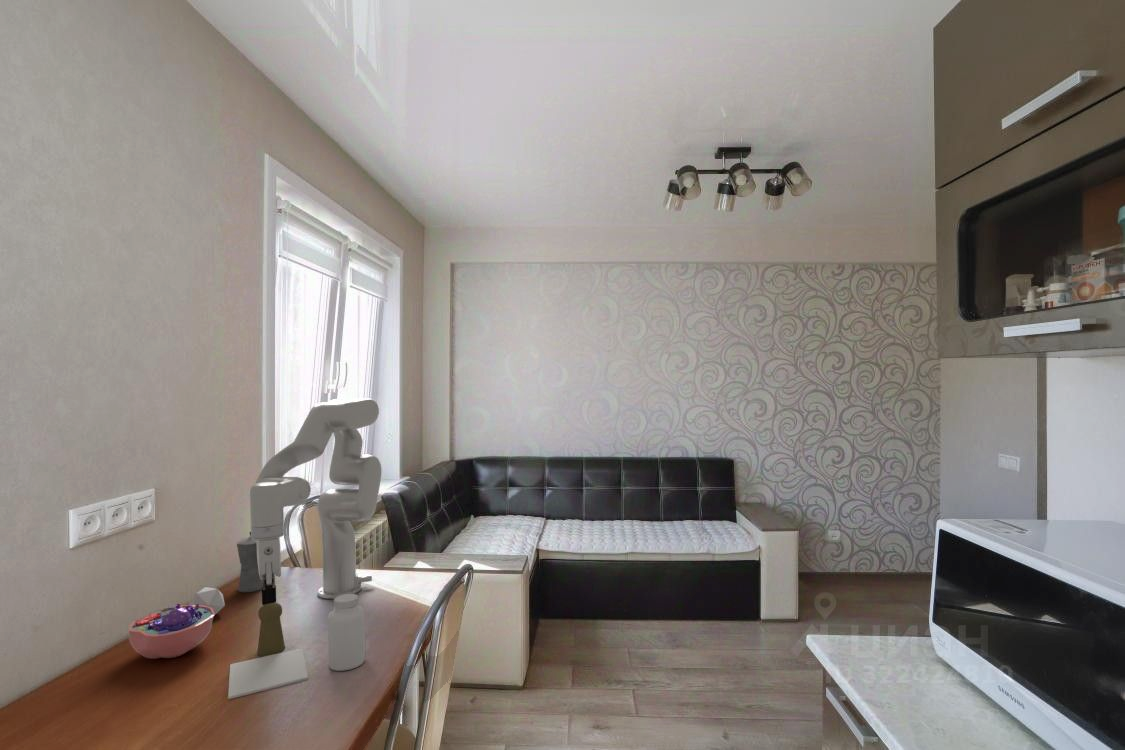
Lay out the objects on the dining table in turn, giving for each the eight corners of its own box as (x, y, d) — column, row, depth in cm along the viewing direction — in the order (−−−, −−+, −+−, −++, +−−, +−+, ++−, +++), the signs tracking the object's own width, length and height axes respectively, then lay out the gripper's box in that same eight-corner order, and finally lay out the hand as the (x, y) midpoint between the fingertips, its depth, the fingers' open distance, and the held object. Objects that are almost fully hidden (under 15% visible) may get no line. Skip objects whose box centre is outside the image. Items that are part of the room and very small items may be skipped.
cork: (263, 645, 142) (262, 600, 142) (289, 643, 142) (287, 599, 142) (252, 657, 136) (251, 610, 136) (279, 655, 136) (277, 608, 136)
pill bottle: (372, 657, 134) (371, 593, 134) (349, 674, 126) (347, 606, 126) (345, 653, 136) (343, 589, 137) (320, 669, 129) (318, 602, 129)
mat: (301, 650, 139) (301, 648, 139) (307, 679, 125) (307, 676, 125) (230, 666, 131) (230, 664, 131) (228, 699, 117) (228, 696, 117)
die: (232, 616, 162) (228, 583, 167) (213, 611, 155) (210, 577, 160) (203, 628, 162) (201, 595, 166) (183, 624, 154) (181, 590, 159)
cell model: (202, 629, 152) (201, 586, 153) (223, 653, 138) (222, 606, 138) (122, 651, 141) (122, 605, 141) (136, 680, 126) (135, 628, 126)
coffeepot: (229, 587, 184) (227, 531, 184) (259, 579, 192) (258, 525, 192) (250, 597, 175) (248, 538, 175) (281, 588, 182) (279, 531, 182)
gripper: (285, 535, 142) (287, 609, 142) (282, 523, 155) (283, 591, 155) (250, 540, 139) (252, 616, 138) (250, 527, 152) (252, 596, 151)
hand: (269, 602), depth 147 cm, fingers closed
